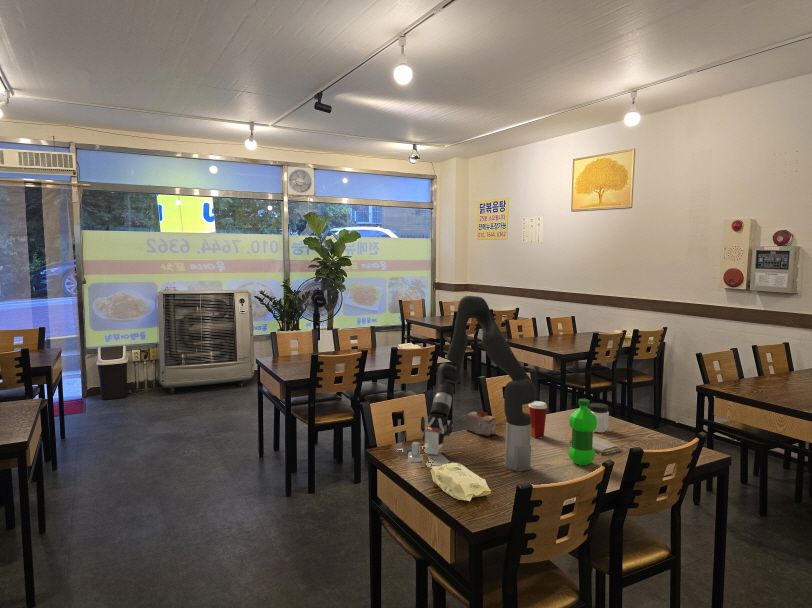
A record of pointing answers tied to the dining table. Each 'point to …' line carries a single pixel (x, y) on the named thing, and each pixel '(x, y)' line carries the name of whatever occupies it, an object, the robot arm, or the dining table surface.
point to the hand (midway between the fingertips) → (432, 442)
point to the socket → (432, 440)
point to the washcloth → (602, 445)
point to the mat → (439, 458)
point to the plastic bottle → (582, 433)
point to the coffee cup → (537, 418)
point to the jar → (600, 416)
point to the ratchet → (413, 453)
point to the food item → (481, 423)
